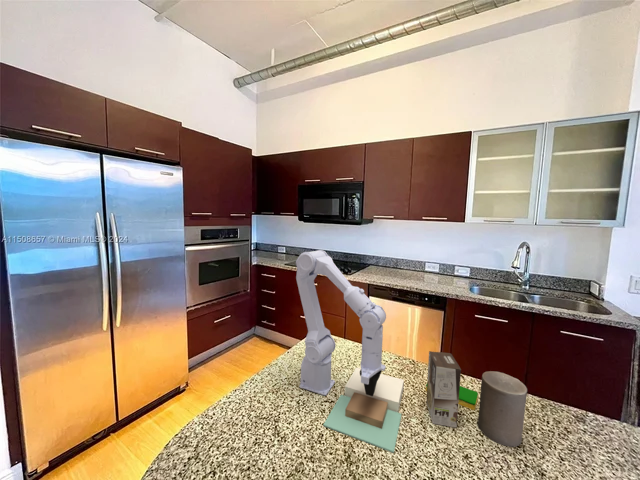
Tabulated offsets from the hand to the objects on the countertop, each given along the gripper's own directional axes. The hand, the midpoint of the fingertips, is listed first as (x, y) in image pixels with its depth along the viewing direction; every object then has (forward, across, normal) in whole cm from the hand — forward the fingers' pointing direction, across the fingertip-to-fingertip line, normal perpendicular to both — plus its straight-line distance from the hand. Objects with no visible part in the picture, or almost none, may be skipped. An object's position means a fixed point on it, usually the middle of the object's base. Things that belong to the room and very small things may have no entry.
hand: (369, 394), depth 77 cm
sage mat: (+4, -6, 0) cm, 7 cm away
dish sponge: (+4, +17, -22) cm, 28 cm away
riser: (+4, +7, 0) cm, 8 cm away
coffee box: (+4, +6, -19) cm, 20 cm away
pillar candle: (+4, +6, -33) cm, 34 cm away
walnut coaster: (+3, -3, 0) cm, 5 cm away
